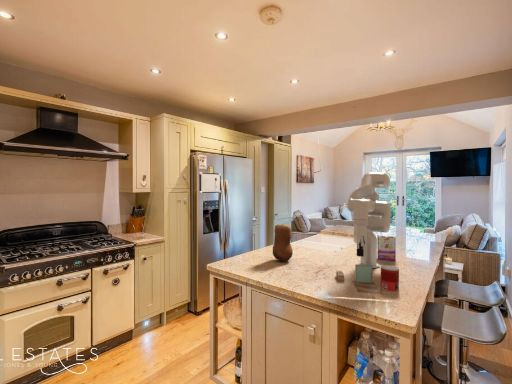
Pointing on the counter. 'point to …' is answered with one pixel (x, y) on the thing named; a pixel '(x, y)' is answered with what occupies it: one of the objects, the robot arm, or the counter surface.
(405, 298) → the counter surface
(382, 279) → the canned food
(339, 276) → the tall wooden pillar
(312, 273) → the counter surface
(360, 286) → the board
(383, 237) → the candy bar box
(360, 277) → the tile
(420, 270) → the counter surface
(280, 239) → the butternut squash
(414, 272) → the counter surface
